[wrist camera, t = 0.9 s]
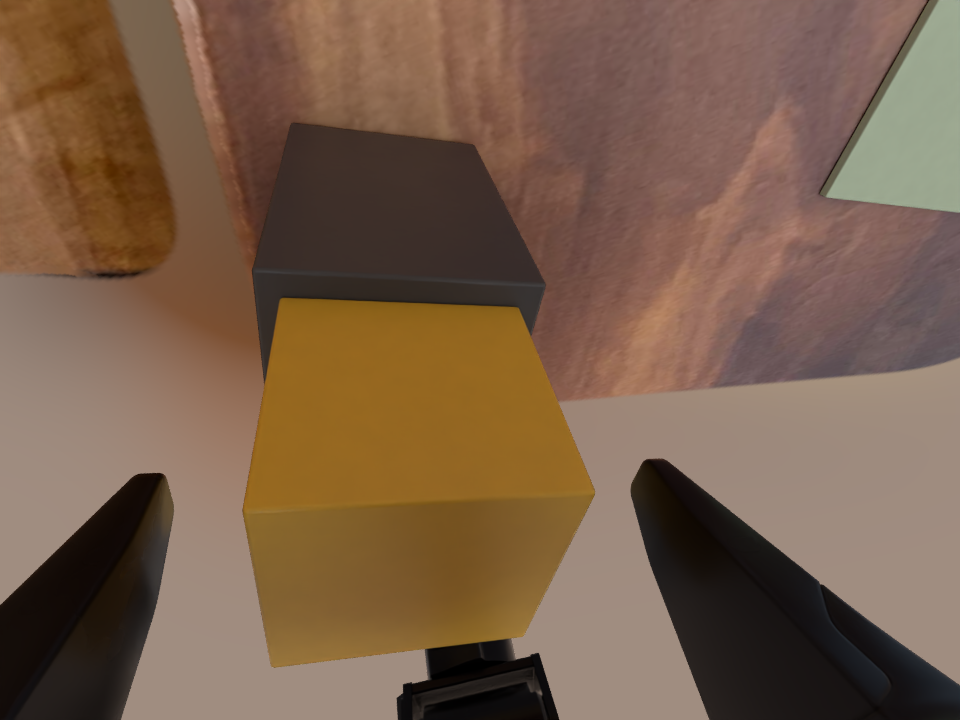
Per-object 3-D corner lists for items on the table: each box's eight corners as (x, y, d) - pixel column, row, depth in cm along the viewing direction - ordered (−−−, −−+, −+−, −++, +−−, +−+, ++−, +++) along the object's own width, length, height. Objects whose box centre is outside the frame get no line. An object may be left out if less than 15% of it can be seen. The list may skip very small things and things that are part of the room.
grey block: (475, 144, 18) (548, 284, 11) (450, 291, 22) (495, 462, 15) (290, 121, 17) (250, 268, 10) (298, 284, 20) (273, 470, 14)
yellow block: (519, 305, 12) (598, 492, 8) (480, 453, 15) (524, 638, 11) (279, 295, 10) (240, 512, 7) (292, 459, 14) (270, 669, 10)
